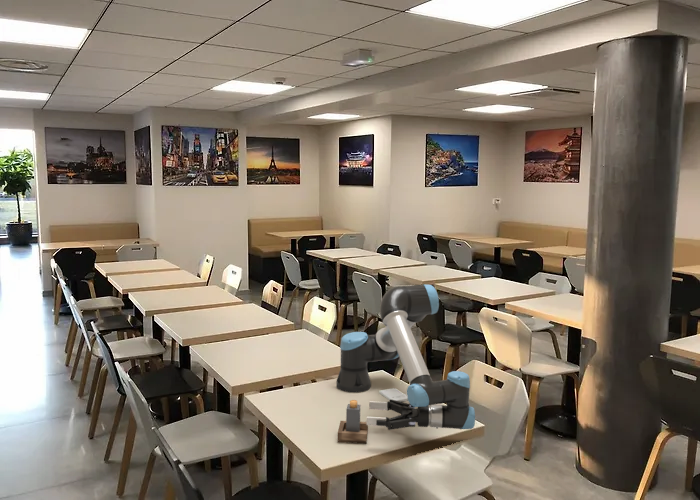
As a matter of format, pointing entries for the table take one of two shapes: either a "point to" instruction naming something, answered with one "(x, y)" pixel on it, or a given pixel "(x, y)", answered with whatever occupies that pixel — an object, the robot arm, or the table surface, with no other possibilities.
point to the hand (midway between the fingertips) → (367, 412)
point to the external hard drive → (394, 395)
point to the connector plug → (353, 417)
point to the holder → (352, 434)
